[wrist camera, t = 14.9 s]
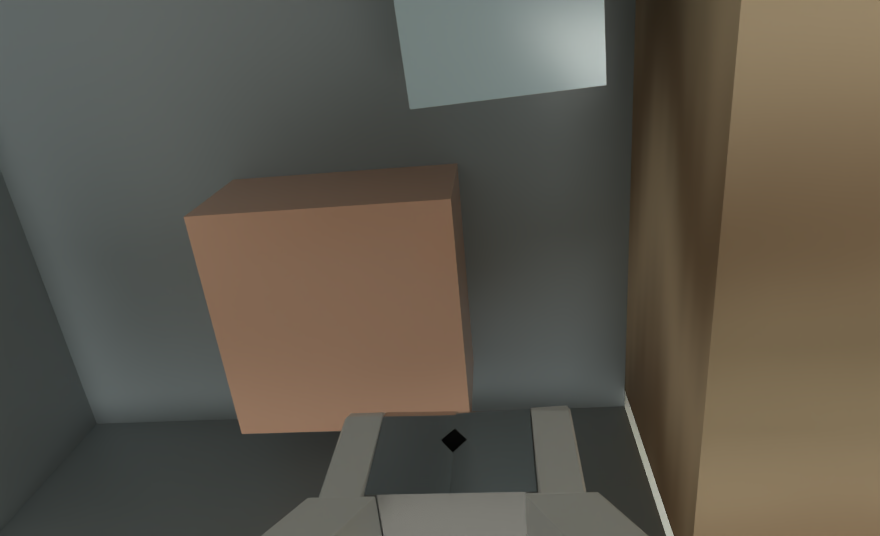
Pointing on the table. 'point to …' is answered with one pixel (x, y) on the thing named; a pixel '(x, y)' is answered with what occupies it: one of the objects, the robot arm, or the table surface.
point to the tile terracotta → (337, 295)
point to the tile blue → (499, 48)
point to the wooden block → (757, 264)
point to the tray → (255, 156)
